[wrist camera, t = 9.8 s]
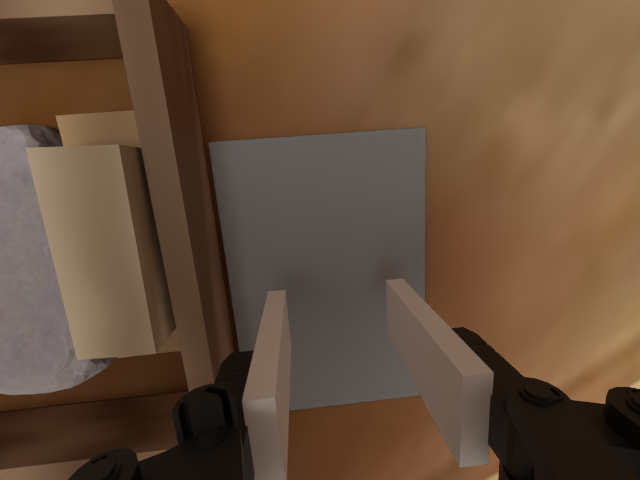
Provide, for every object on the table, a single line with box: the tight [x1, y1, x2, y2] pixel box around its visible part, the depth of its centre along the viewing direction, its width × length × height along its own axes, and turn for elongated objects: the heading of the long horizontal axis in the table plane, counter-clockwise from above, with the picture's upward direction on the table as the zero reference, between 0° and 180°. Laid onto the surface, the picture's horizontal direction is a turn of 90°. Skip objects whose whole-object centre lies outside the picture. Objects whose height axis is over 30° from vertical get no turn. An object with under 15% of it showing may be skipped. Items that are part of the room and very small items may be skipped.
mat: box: [208, 127, 426, 411], centre depth 17 cm, size 11×16×1 cm
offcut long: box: [56, 110, 181, 358], centre depth 15 cm, size 4×11×3 cm, turn 5°
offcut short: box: [26, 145, 176, 360], centre depth 13 cm, size 3×8×2 cm, turn 2°
